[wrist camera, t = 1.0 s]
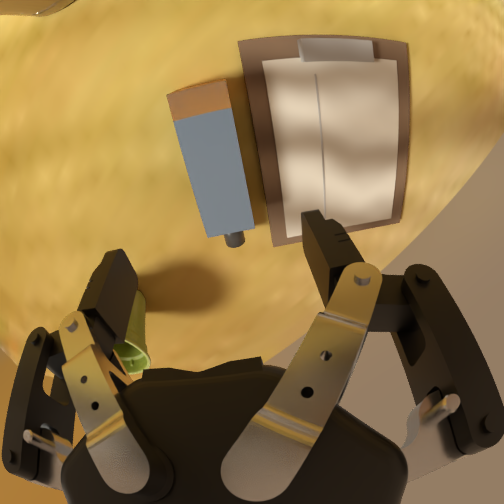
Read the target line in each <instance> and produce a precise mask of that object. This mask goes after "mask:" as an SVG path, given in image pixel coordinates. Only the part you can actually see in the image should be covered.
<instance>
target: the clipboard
mask: <svg viewBox="0 0 504 504" xmlns="http://www.w3.org/2000/svg"><path fill="white" fill-rule="evenodd" d="M238 46H239V51H240V56H241V61H242V66H243V72H244V77H245V82H246V87H247V93H248V98H249V104H250V109H251V115H252V120H253V126H254V132H255V137H256V143H257V149H258V155H259V161H260V167H261V173H262V179H263V185H264V191H265V198H266V204H267V210H268V217H269V223H270V230H271V236H272V243H273V247H277V246H282V245H287V244H292V243H298V242H302V227H301V212H305V211H310V210H316V209H319V210H320V212H321V214H322V215H323V217H324V218H325V220H327V219H334V220H335V221H337V222H338V223H340V224H342V226H343V228H344V229H345V231H346V233H349V232H354V231H359V230H364V229H370V228H375V227H380V226H385V225H390V224H395V223H400V217H401V211H402V204H403V197H404V189H405V180H406V171H407V159H408V145H409V120H410V94H409V70H408V57H407V46H406V43H404V42H398V41H392V40H385V39H378V38H369V37H358V36H342V35H294V36H278V37H267V38H258V39H250V40H243V41H238Z"/></svg>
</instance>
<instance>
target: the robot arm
mask: <svg viewBox="0 0 504 504" xmlns="http://www.w3.org/2000/svg"><path fill="white" fill-rule="evenodd" d="M73 1H74V0H0V15H25V16H38V17H41V16H47V15H50V14H53V13H55V12H57V11H59V10H61V9H63V8H65V7H66V6H67V5H69V4H70V3H72V2H73ZM301 227H302V242H303V249H304V253H305V256H306V259H307V261H308V264H309V267H310V269H311V272H312V274H313V277H314V279H315V282H316V285H317V287H318V290H319V293H320V295H321V298H322V301H323V304H324V306H325V311H324V312H323V313H322V312H319V313H318V314H317V316H316V317H315V319H314V321H313V323H312V325H311V327H310V329H309V331H308V332H307V334H306V336H305V338H304V340H303V342H302V344H301V345H300V347H299V349H298V351H297V352H296V354H295V356H294V358H293V359H292V361H291V363H290V365H289V366H288V368H287V369H284V368H281V367H277V366H272V365H263V362H262V359H261V357H255V358H249V359H242V360H235V361H229V362H226V363H224V364H221V365H218V366H215V367H213V368H210V369H207V370H204V371H201V372H192V371H185V370H179V369H173V368H157V369H143V375H142V378H141V379H138V380H136V381H134V382H133V380H132V379H131V377H130V376H129V374H128V372H127V370H126V369H125V367H124V365H123V363H122V362H121V360H120V358H119V356H118V354H117V353H116V351H115V350H114V349H113V347H114V344H123V343H124V342H125V337H126V332H127V328H128V324H129V319H130V315H131V311H132V307H133V303H134V299H135V295H136V292H137V288H138V278H137V274H136V272H135V270H134V269H133V267H132V265H131V263H130V261H129V259H128V257H127V256H126V254H125V252H124V251H123V250H122V249H117V250H112V251H108V252H106V253H105V255H104V257H103V259H102V262H101V264H100V265H99V266H98V267H97V268H96V269H95V271H94V272H93V273H92V276H91V278H90V280H89V281H90V282H88V285H87V287H86V288H87V289H85V292H84V294H83V297H82V299H81V302H80V304H79V307H78V309H77V311H74V312H72V313H70V314H68V315H67V316H66V317H65V318H64V319H63V320H62V322H61V324H60V327H59V330H57V331H55V332H53V333H50V334H49V333H48V332H47V331H46V329H45V328H43V327H38V328H36V329H34V330H33V331H32V332H31V334H30V335H29V337H28V339H27V341H26V344H25V347H24V350H23V353H22V356H21V359H20V363H19V366H18V370H17V373H16V377H15V380H14V384H13V389H12V393H11V397H10V401H9V406H8V411H7V417H6V423H5V430H4V437H3V446H2V461H3V464H4V467H5V468H6V470H7V471H8V472H9V473H12V474H14V475H16V476H19V477H21V478H24V479H25V480H27V481H30V482H33V483H35V484H39V485H42V486H45V487H51V488H54V489H58V490H62V491H63V492H64V494H65V497H66V499H67V502H68V504H400V503H401V499H402V496H403V493H404V490H405V487H406V484H407V483H408V482H410V481H412V480H415V479H417V478H420V477H422V476H424V475H427V474H429V473H431V472H433V471H435V470H437V469H439V468H441V467H443V466H445V465H447V464H449V463H451V462H454V461H457V460H460V459H463V458H465V457H468V456H470V455H473V454H476V453H478V452H480V451H483V450H485V449H487V448H489V447H491V446H494V445H495V444H496V443H497V442H499V440H500V439H501V438H502V436H503V434H504V406H503V403H502V400H501V397H500V395H499V392H498V389H497V387H496V384H495V382H494V379H493V377H492V374H491V372H490V369H489V367H488V365H487V362H486V360H485V358H484V356H483V354H482V352H481V350H480V348H479V346H478V343H477V341H476V339H475V337H474V335H473V334H472V332H471V330H470V328H469V326H468V324H467V322H466V320H465V318H464V317H463V315H462V313H461V311H460V310H459V308H458V306H457V304H456V303H455V301H454V299H453V298H452V296H451V294H450V293H449V291H448V290H447V288H446V286H445V285H444V283H443V282H442V280H441V278H440V277H439V275H438V274H437V273H436V271H435V270H433V269H432V268H430V267H429V266H426V265H422V264H414V265H411V266H409V267H408V268H407V269H406V271H405V273H404V275H385V274H381V272H380V271H379V269H378V268H376V267H375V266H374V265H371V264H369V263H365V261H364V259H363V258H362V256H361V254H360V253H359V251H358V250H357V248H356V246H355V245H354V243H353V242H352V240H351V238H350V237H349V235H348V234H347V233H346V231H345V229H344V228H343V226H342V224H340V223H338V222H337V221H335V220H334V219H327V220H325V218H324V217H323V215H322V214H321V212H320V210H319V209H316V210H310V211H305V212H301ZM370 331H371V332H390V333H391V335H392V338H393V340H394V343H395V345H396V348H397V350H398V353H399V356H400V359H401V361H402V364H403V367H404V370H405V373H406V376H407V379H408V382H409V385H410V388H411V391H412V394H413V397H414V400H415V404H416V407H415V408H414V409H413V410H412V411H411V412H410V414H409V416H408V419H407V437H406V440H405V442H404V444H403V446H402V447H401V448H399V447H398V446H397V445H396V444H395V443H394V442H392V441H391V440H389V439H388V438H386V437H385V436H383V435H382V434H380V433H379V432H377V431H375V430H374V429H373V428H371V427H370V426H368V425H367V424H365V423H364V422H362V421H361V420H359V419H358V418H356V417H355V416H353V415H352V414H351V413H349V412H348V411H346V410H345V409H343V408H342V407H341V406H339V403H340V401H341V399H342V397H343V395H344V392H345V390H346V388H347V385H348V383H349V381H350V378H351V376H352V373H353V370H354V368H355V366H356V363H357V360H358V358H359V355H360V353H361V350H362V348H363V345H364V342H365V339H366V337H367V334H368V332H370ZM46 367H47V368H48V369H49V370H50V371H51V372H52V373H54V374H55V375H54V379H53V384H52V389H51V394H50V396H48V395H47V394H46V393H45V392H44V390H43V379H44V375H45V371H46ZM75 412H77V414H78V417H79V419H80V422H81V424H82V426H83V428H84V431H85V433H86V434H85V435H84V437H83V438H82V439H81V440H80V442H79V443H78V444H77V445H76V447H75V448H74V449H73V447H72V444H73V431H74V421H75Z"/></svg>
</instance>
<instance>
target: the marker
mask: <svg viewBox="0 0 504 504" xmlns="http://www.w3.org/2000/svg"><path fill="white" fill-rule="evenodd" d="M167 99H168V103H169V106H170V110H171V114H172V118H173V122H174V125H175V129H176V133H177V136H178V140H179V144H180V147H181V151H182V154H183V158H184V161H185V165H186V168H187V172H188V175H189V178H190V182H191V185H192V189H193V192H194V195H195V199H196V202H197V205H198V208H199V212H200V215H201V218H202V221H203V224H204V228H205V231H206V234H207V237H208V238H209V237H214V236H219V235H224V238H225V241H226V245H227V246H228V247H231V248H236V247H239V246H241V245H243V244H244V242H245V237H244V233H243V231H244V230H249V229H255V225H254V220H253V215H252V210H251V205H250V199H249V194H248V189H247V184H246V179H245V174H244V169H243V163H242V158H241V153H240V148H239V143H238V138H237V133H236V128H235V123H234V118H233V113H232V108H231V103H230V98H229V93H228V88H227V83H226V79H222V80H217V81H212V82H208V83H203V84H199V85H195V86H191V87H187V88H183V89H180V90H176V91H174V92H172V93H170V94H167Z"/></svg>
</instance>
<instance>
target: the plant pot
mask: <svg viewBox="0 0 504 504" xmlns="http://www.w3.org/2000/svg"><path fill="white" fill-rule="evenodd" d="M145 312H146V301H145V298H144V296H143V294H142V293H141V292H140V291H138V290H137V292H136V295H135V299H134V303H133V307H132V311H131V315H130V319H129V324H128V328H127V332H126V337H125V342H124V343H123V344H114V347H113V349H114V350H115V351H116V353H117V354H118V356H119V358H120V360H121V362H122V363H123V365H124V367H125V369H126V370H127V372H128V374H138V373H142V372H143V369H148V368H149V367H150V364H151V360H150V357H149V355H148V353H147V346H146V344H145Z"/></svg>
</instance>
